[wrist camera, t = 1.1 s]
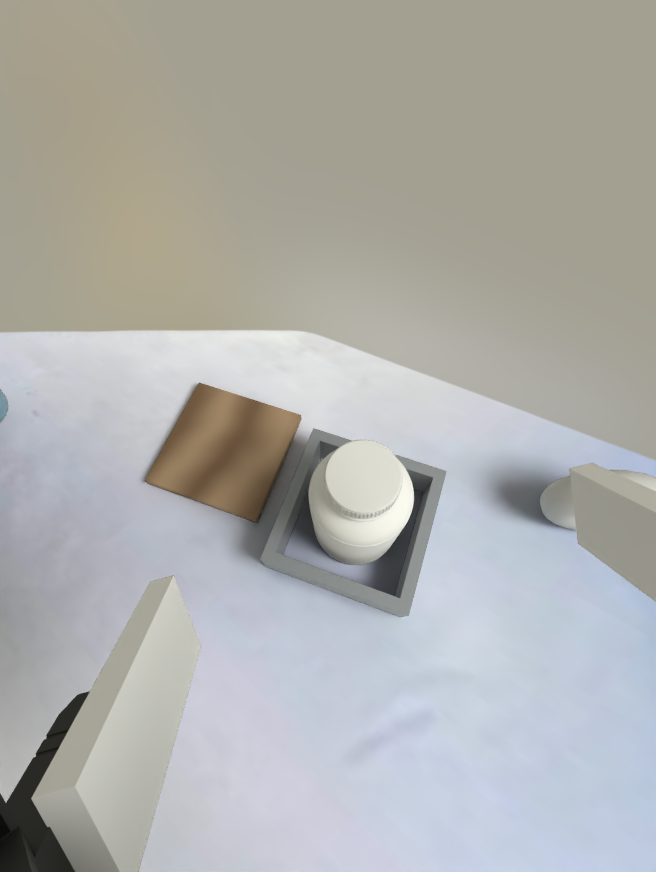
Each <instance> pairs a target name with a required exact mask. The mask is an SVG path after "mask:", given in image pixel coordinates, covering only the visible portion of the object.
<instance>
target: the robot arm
mask: <svg viewBox="0 0 656 872" xmlns="http://www.w3.org/2000/svg"><path fill="white" fill-rule="evenodd" d="M7 411H8V401H7V398H6V396H5V395H4V393H3V392H2V391H1V390H0V422H2V421H3V419H4V418H5V416H6V413H7ZM570 478H571V487H572V496H573V504H574V513H575V522H576V531H577V540H578V544H579V545H581V546H582V547H583V548H585V549H586V550H587V551H589V552H590V553H591V554H593V555H594V556H595V557H597V558H598V559H599V560H601V561H602V562H603V563H605V564H606V565H607V566H609V567H610V568H611V569H613V570H614V571H615V572H617V573H618V574H619V575H621V576H622V577H623V578H625V579H626V580H627V581H629V582H630V583H631V584H633V585H634V586H635V587H637V588H638V589H639V590H641V591H642V592H643V593H645V594H646V595H647V596H649V597H650V598H651V599H653V600H654V601H655V602H656V491H654V490H652V489H650V488H647V487H645V486H643V485H641V484H639V483H636V482H634V481H632V480H630V479H627V478H625V477H623V476H621V475H618V474H616V473H614V472H612V471H610V470H607V469H605V468H603V467H601V466H598V465H596V464H594V463H589V464H585V465H582V466H578V467H574V468H570ZM200 649H201V644H200V642H199V639H198V637H197V634H196V632H195V629H194V626H193V624H192V621H191V619H190V616H189V613H188V611H187V608H186V606H185V603H184V600H183V598H182V595H181V593H180V590H179V587H178V585H177V582H176V580H175V577H174V575H173V576H169V577H165V578H162V579H158V580H154V581H151V582H150V583H149V585H148V587H147V588H146V590H145V592H144V594H143V596H142V597H141V599H140V601H139V603H138V605H137V607H136V608H135V610H134V612H133V614H132V616H131V618H130V619H129V621H128V623H127V625H126V627H125V628H124V630H123V632H122V634H121V636H120V638H119V639H118V641H117V643H116V645H115V647H114V649H113V650H112V652H111V654H110V656H109V658H108V659H107V661H106V663H105V665H104V667H103V669H102V670H101V672H100V674H99V676H98V678H97V680H96V681H95V683H94V685H93V687H92V689H91V690H90V691H89V692H86V693H82V694H79V695H77V696H76V697H75V698H74V699H73V700H72V701H71V702H70V703H69V705H68V706H67V707H66V708H65V709H64V710H63V711H62V712H61V713H60V714H59V715H58V717H57V719H56V720H55V722H54V724H53V725H52V727H51V729H50V731H49V732H48V734H47V739H45V740H44V741H43V742H42V744H41V746H40V747H39V749H38V751H37V752H36V757H34V758H33V759H32V761H31V762H30V764H29V766H28V767H27V769H26V771H25V772H24V774H23V776H22V778H21V779H20V781H19V783H18V784H17V786H16V788H15V789H14V791H13V793H12V794H11V796H10V798H9V799H8V801H7V803H5V801H4V799H3V797H2V796H1V794H0V872H139V868H140V865H141V861H142V858H143V854H144V850H145V847H146V843H147V840H148V836H149V832H150V829H151V825H152V822H153V818H154V814H155V811H156V807H157V804H158V800H159V796H160V793H161V789H162V786H163V782H164V778H165V775H166V771H167V768H168V764H169V760H170V757H171V753H172V750H173V746H174V742H175V739H176V735H177V732H178V728H179V724H180V721H181V717H182V714H183V710H184V706H185V703H186V699H187V696H188V692H189V688H190V685H191V681H192V678H193V674H194V670H195V667H196V663H197V660H198V656H199V652H200Z"/></svg>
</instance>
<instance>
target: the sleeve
mask: <svg viewBox="0 0 656 872" xmlns="http://www.w3.org/2000/svg"><path fill="white" fill-rule="evenodd" d="M350 441H351V440H348V439H345V438H342V437H339V436H336V435H333V434H330V433H327V432H323V431H320V430H317V429H314V428H313V431H312V433H311V436H310V438H309V441H308V443H307V446H306V448H305V450H304V453H303V455H302V458H301V460H300V463H299V465H298V468H297V470H296V472H295V475H294V477H293V480H292V482H291V485H290V487H289V490H288V492H287V494H286V497H285V499H284V502H283V504H282V507H281V509H280V512H279V514H278V516H277V519H276V521H275V524H274V526H273V529H272V531H271V534H270V536H269V539H268V541H267V543H266V546H265V548H264V551H263V553H262V556H261V558H260V560H261V561H262V562H263V563H264V564H265V565H266V567H268V568H271V569H274V570H276V571H279V572H282V573H284V574H287V575H290V576H292V577H295V578H298V579H300V580H303V581H306V582H308V583H311V584H314V585H316V586H319V587H322V588H324V589H327V590H330V591H332V592H335V593H337V594H340V595H343V596H345V597H348V598H351V599H353V600H356V601H359V602H361V603H364V604H367V605H369V606H372V607H375V608H377V609H380V610H383V611H385V612H388V613H391V614H393V615H396V616H399V617H404V616H408V615H409V613H410V609H411V605H412V601H413V597H414V593H415V590H416V586H417V582H418V578H419V574H420V570H421V567H422V563H423V559H424V555H425V551H426V548H427V544H428V540H429V536H430V532H431V528H432V525H433V521H434V517H435V513H436V509H437V505H438V502H439V498H440V494H441V490H442V486H443V483H444V479H445V475H446V471H444V470H441V469H438V468H435V467H432V466H429V465H426V464H423V463H420V462H416V461H413V460H410V459H407V458H404V457H401V456H398V455H395V454H394V455H395V456H396V458H397V459H398V460H399V461H400V462H401V463H402V464H403V466H404V467H405V469H406V470H407V472H408V474H409V476H410V478H411V481H412V485H413V489H416V490H419V491H422V492H423V496H422V500H421V503H420V507H419V510H418V514H417V518H416V521H415V525H414V528H413V532H412V536H411V539H410V543H409V546H408V550H407V554H406V557H405V561H404V564H403V568H402V572H401V575H400V579H399V582H398V586H397V589H396V593H395V596H392V595H389V594H387V593H384V592H381V591H379V590H376V589H373V588H371V587H368V586H365V585H362V584H360V583H357V582H354V581H352V580H349V579H346V578H344V577H341V576H338V575H335V574H333V573H330V572H327V571H325V570H322V569H319V568H317V567H314V566H311V565H308V564H306V563H303V562H300V561H298V560H295V559H292V558H289V557H287V556H284V555H283V553H284V551H285V548H286V546H287V543H288V541H289V538H290V535H291V533H292V530H293V528H294V525H295V523H296V520H297V517H298V515H299V512H300V510H301V507H302V505H303V502H304V499H305V497H306V494H307V492H308V489H309V485H310V481H311V477H312V475H313V473H314V471H315V469H316V467H317V466H318V464H319V461H320V458H323V459H324V458H325V457H326V456H327V455H329V454H330V453H331V452H333V451H335V450H336V449H337V448H339V447H340V446H342V445H343V444H345V443H348V442H350Z"/></svg>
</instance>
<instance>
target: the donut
mask: <svg viewBox="0 0 656 872" xmlns="http://www.w3.org/2000/svg"><path fill="white" fill-rule="evenodd" d="M610 471H612V472H614V473H616V474H618V475H621V476H623V477H625V478H627V479H630V480H632V481H634V482H636V483H639V484H641V485H643V486H645V487H647V488H650V489H652V490H654V491H656V478H655V477H653V476H650V475H648V474H645V473H639V472H633V471H627V470H610ZM540 505H541V509H542V512H543V514H544V515H545V517H546V518H547V519H549V520H550V521H551V522H553V523H554V524H556V525H559V526H561V527H565V528H568V529H573V530H576V522H575V513H574V504H573V496H572V487H571V478H570V476H567V477H563V478H561V479H559V480H557V481H555V482H553V483H551V484H550V485H549V486H548V487H547V488H546V489H545V490H544V491H543V493H542V495H541V497H540Z"/></svg>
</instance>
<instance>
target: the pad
mask: <svg viewBox="0 0 656 872" xmlns="http://www.w3.org/2000/svg"><path fill="white" fill-rule="evenodd" d="M300 421H301V415H299V414H296V413H293V412H290V411H286V410H283V409H280V408H277V407H274V406H271V405H268V404H265V403H261V402H258V401H255V400H252V399H249V398H246V397H243V396H239V395H236V394H233V393H230V392H227V391H224V390H221V389H218V388H214V387H211V386H208V385H205V384H202V383H198V385H197V387H196V389H195V391H194V392H193V394H192V396H191V398H190V400H189V402H188V403H187V405H186V407H185V409H184V411H183V412H182V414H181V416H180V418H179V420H178V422H177V423H176V425H175V427H174V429H173V431H172V432H171V434H170V436H169V438H168V440H167V441H166V443H165V445H164V447H163V449H162V451H161V452H160V454H159V456H158V458H157V460H156V461H155V463H154V465H153V467H152V469H151V470H150V472H149V474H148V476H147V478H146V480H145V481H146V482H147V483H148V484H151V485H153V486H156V487H159V488H162V489H164V490H167V491H170V492H173V493H175V494H178V495H181V496H184V497H186V498H189V499H192V500H195V501H197V502H200V503H203V504H206V505H209V506H211V507H214V508H217V509H220V510H222V511H225V512H228V513H231V514H233V515H236V516H239V517H242V518H244V519H247V520H250V521H253V522H255V523H258V520H259V518H260V515H261V513H262V511H263V508H264V506H265V504H266V501H267V499H268V497H269V494H270V492H271V490H272V487H273V485H274V483H275V480H276V478H277V475H278V473H279V471H280V468H281V466H282V464H283V461H284V459H285V457H286V454H287V452H288V450H289V447H290V445H291V443H292V440H293V438H294V435H295V433H296V431H297V428H298V426H299V424H300Z"/></svg>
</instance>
